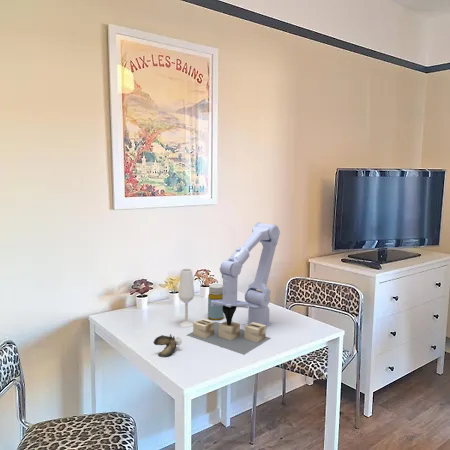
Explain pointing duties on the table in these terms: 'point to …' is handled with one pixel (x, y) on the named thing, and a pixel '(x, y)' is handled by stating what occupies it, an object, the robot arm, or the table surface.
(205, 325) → the two-bar birch block
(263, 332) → the one-bar birch block
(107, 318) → the table surface
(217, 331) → the charcoal rubber mat
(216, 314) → the bottle
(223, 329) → the plain birch block
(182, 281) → the champagne flute
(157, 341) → the eagle figurine
